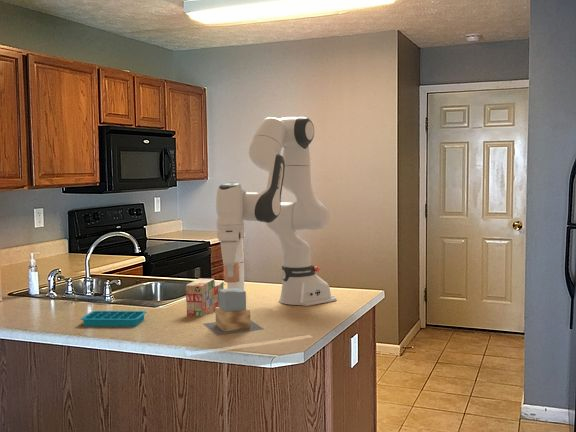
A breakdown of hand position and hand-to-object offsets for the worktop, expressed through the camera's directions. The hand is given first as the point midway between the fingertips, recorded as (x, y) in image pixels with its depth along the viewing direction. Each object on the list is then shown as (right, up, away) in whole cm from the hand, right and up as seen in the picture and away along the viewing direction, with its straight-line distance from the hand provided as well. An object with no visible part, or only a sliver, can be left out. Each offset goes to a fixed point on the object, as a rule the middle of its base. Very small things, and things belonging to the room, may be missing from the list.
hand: (231, 274), depth 209 cm
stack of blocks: (-12, -17, +27) cm, 34 cm away
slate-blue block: (0, -11, +1) cm, 11 cm away
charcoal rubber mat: (0, -18, +2) cm, 18 cm away
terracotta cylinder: (0, -2, 0) cm, 2 cm away
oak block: (0, -17, +2) cm, 17 cm away
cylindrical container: (-4, -13, +62) cm, 64 cm away
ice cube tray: (-42, -19, +14) cm, 48 cm away
